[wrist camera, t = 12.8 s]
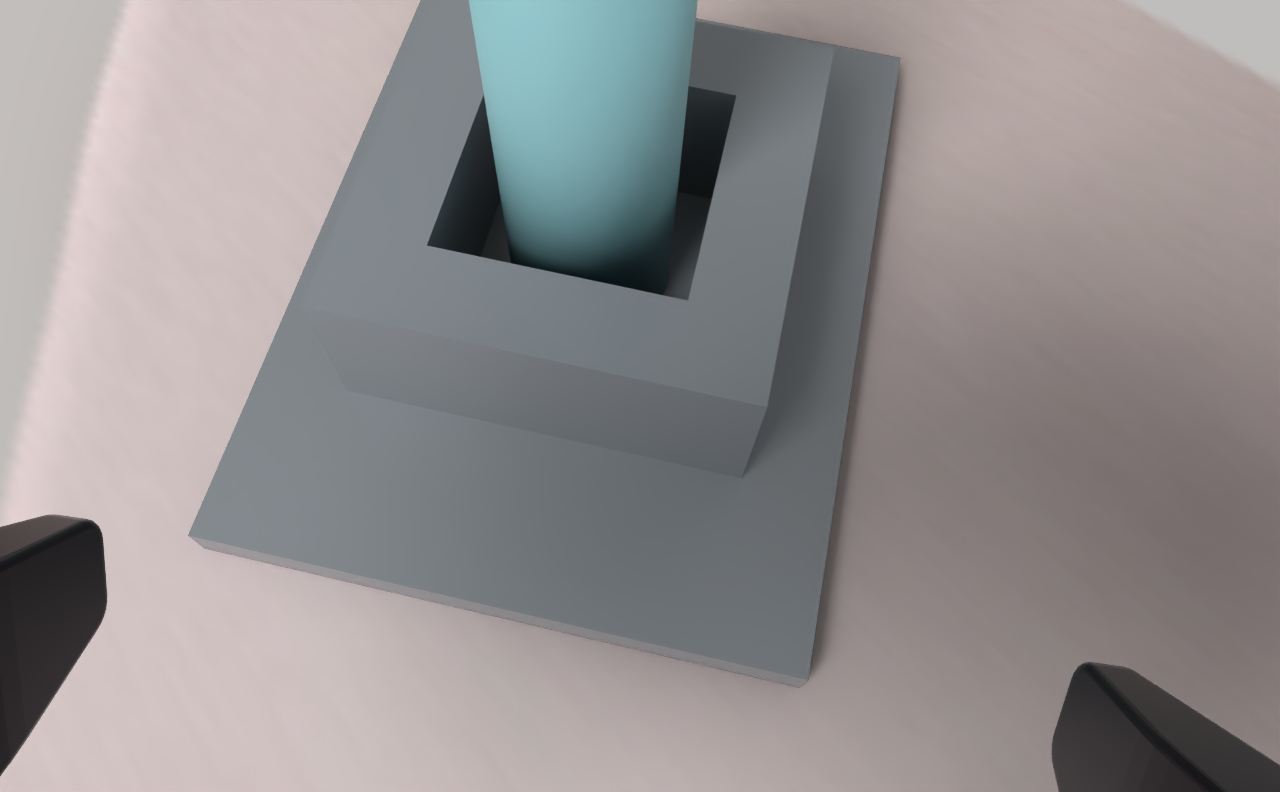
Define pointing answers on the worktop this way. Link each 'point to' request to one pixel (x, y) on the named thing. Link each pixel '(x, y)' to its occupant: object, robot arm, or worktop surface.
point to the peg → (587, 130)
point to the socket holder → (578, 368)
